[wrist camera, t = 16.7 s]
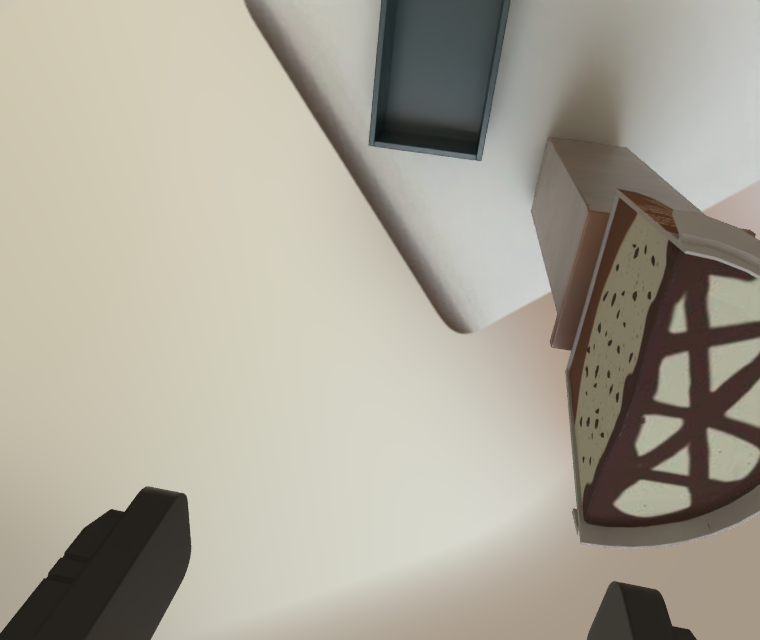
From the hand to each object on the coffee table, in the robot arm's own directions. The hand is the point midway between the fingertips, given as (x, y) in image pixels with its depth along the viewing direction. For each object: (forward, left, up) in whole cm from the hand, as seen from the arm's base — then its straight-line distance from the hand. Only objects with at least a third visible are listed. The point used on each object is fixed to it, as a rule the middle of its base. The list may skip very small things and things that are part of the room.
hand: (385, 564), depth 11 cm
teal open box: (+2, -8, -40) cm, 41 cm away
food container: (-10, +1, -18) cm, 21 cm away
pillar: (-10, +1, -40) cm, 41 cm away
